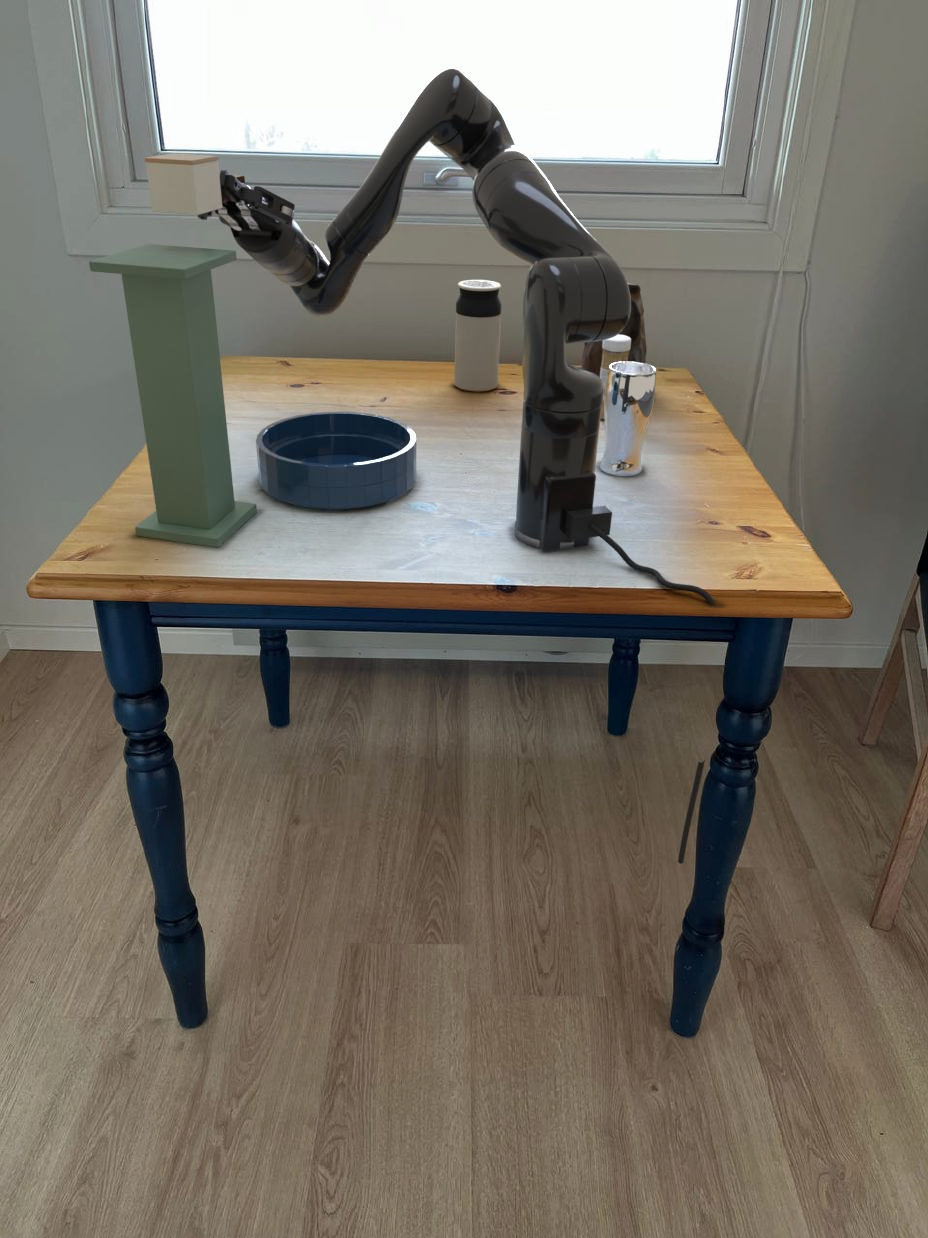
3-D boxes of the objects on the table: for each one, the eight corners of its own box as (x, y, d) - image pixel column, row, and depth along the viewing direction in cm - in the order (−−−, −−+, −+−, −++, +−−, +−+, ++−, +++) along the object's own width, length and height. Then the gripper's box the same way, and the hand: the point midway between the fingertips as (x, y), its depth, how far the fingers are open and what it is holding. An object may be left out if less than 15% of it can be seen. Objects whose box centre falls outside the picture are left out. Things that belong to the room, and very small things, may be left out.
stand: (182, 500, 126) (148, 243, 109) (258, 510, 124) (236, 250, 107) (133, 537, 116) (88, 261, 99) (216, 549, 113) (184, 269, 97)
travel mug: (474, 395, 169) (477, 290, 160) (445, 384, 174) (447, 282, 165) (506, 387, 173) (511, 285, 164) (477, 377, 178) (481, 277, 169)
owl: (638, 406, 166) (653, 287, 156) (567, 398, 168) (577, 281, 158) (646, 386, 176) (660, 274, 166) (579, 379, 179) (589, 268, 169)
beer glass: (616, 456, 144) (627, 358, 137) (653, 469, 140) (668, 368, 132) (587, 467, 140) (597, 366, 132) (625, 481, 136) (638, 377, 128)
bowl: (435, 503, 127) (436, 457, 124) (273, 521, 121) (270, 473, 118) (392, 448, 145) (392, 406, 141) (249, 461, 138) (245, 418, 135)
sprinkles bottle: (627, 418, 160) (637, 338, 153) (607, 423, 158) (616, 341, 151) (609, 411, 163) (618, 331, 156) (589, 415, 161) (597, 334, 154)
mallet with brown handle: (218, 194, 118) (214, 146, 115) (260, 197, 117) (257, 148, 114) (151, 211, 105) (144, 157, 102) (197, 214, 103) (192, 160, 101)
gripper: (228, 205, 129) (163, 142, 112) (323, 212, 126) (272, 148, 109) (220, 260, 129) (155, 205, 112) (315, 268, 127) (263, 213, 109)
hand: (213, 177), depth 111 cm, fingers closed on mallet with brown handle
